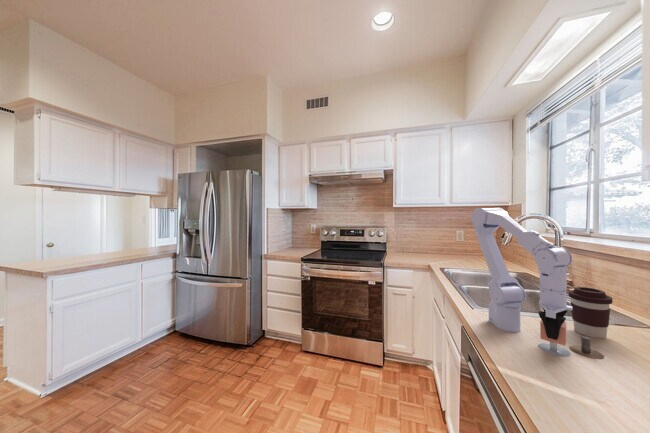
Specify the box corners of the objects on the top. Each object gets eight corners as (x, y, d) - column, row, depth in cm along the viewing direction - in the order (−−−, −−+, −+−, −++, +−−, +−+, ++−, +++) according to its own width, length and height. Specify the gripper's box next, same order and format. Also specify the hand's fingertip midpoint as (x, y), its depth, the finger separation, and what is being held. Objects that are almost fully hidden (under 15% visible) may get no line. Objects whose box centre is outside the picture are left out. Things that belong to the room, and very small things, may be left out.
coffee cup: (598, 344, 75) (597, 295, 75) (561, 329, 85) (560, 286, 85) (621, 340, 78) (620, 293, 77) (582, 326, 87) (582, 284, 87)
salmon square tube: (540, 338, 72) (540, 321, 72) (542, 332, 75) (542, 316, 75) (565, 345, 68) (565, 327, 68) (566, 338, 71) (566, 321, 71)
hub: (562, 348, 74) (561, 332, 74) (584, 347, 74) (584, 331, 74) (587, 362, 67) (587, 344, 67) (612, 361, 67) (612, 344, 67)
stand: (531, 346, 75) (531, 330, 75) (554, 345, 75) (553, 330, 75) (553, 359, 68) (553, 342, 68) (577, 359, 68) (577, 342, 68)
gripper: (571, 298, 64) (571, 349, 64) (573, 286, 73) (573, 331, 74) (535, 292, 69) (536, 340, 69) (542, 281, 79) (542, 323, 79)
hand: (553, 334), depth 72 cm, fingers closed on salmon square tube, 5 cm apart
